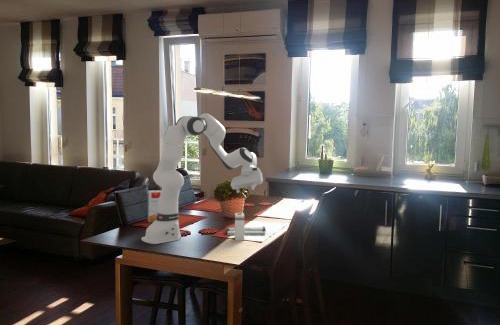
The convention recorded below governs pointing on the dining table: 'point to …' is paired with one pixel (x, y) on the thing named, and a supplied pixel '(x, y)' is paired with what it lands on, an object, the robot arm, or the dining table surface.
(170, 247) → the dining table surface
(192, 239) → the dining table surface
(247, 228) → the rail
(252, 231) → the mounting board
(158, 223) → the robot arm
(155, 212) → the hard drive box
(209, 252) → the dining table surface
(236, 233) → the block
